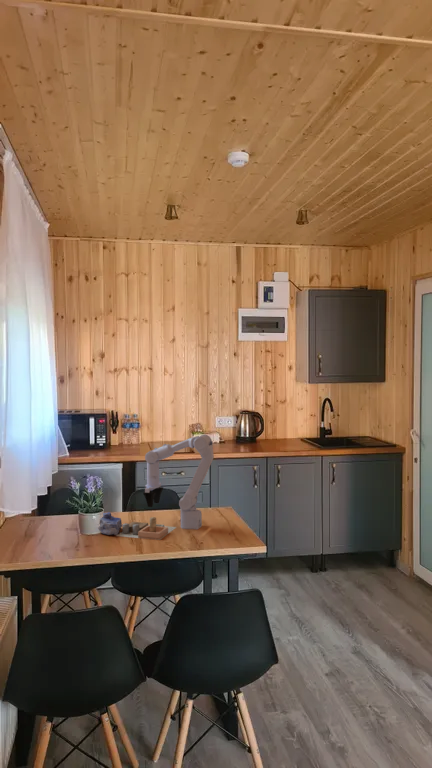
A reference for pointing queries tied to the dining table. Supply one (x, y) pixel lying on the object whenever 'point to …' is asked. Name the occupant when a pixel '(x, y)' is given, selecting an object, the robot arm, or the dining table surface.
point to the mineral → (109, 524)
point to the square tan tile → (142, 525)
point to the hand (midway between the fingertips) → (153, 504)
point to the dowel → (152, 524)
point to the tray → (153, 535)
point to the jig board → (137, 528)
